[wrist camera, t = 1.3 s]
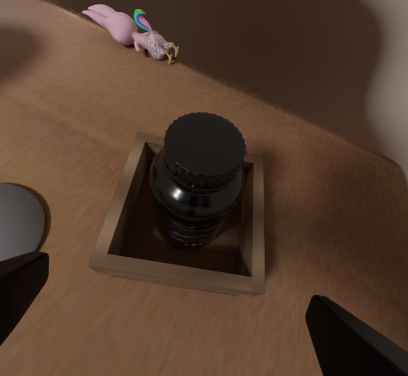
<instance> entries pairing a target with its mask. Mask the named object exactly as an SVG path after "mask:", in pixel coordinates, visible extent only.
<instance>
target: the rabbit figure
mask: <svg viewBox="0 0 408 376" xmlns="http://www.w3.org/2000/svg"><path fill="white" fill-rule="evenodd" d="M88 9H89V10H87V11H83V12H82V13H83V14H87V15H88V16H90V17H91V18H92V19H94V20H95V21H96V22H97V23H99V24H100V25H101V26H103V27H104V28H106V29H107V30H108V31H109V32H110V33H111V35H112V36H113V38H114V39H115V40H116V41H117V42H118V43H120V44H121V45H127V46H129V45H130V44H134V45H135V48H136V50H137V52H140V48H139V47H138V46H140V47H141V48H143V49H147V50H148V51H149V53H150V54H151V55H152V57H153V58H154V59H156V60H162V59H163V58H164V55H165V54H166V55H167V56H168V57H169V63H170V62H171V59H172V57H171V55H172V54H171V55H169V54H168V52H169V50H170V48H171V47H173V48H174V49H175V52H176V53H175V57H176V55H177V54H178V47H177V48H176V47H175V46H174V44H173V43H168V42H167V41H165V39H164V38H163V37H162V36H161V35H159V34H158V32H157V31H153V30H152V29H151V27H150V25H149V23H148V22H147V21H146V20H145V19H144V18H143V17H142V15H143V14H145V13H144V12H143V11H142V10H140V9H137V10H135V12H134V20H135V22H136V24H137V25H138V26H139V27H140V28H142V29H145V30H147V31H148V32H146V33H142V34H140V33H138V28H137V25H136V24H135V22H134V21H133V20H132V18H131V17H129V16H128V15H127V14H124V13H122V12H116V11H115V10H113V9H112V8H110V7H108V6H106V5H101V4H98V5H94V6H91V7H89V8H88ZM90 10H92V11H90ZM134 40H135V41H134ZM169 63H168V64H169ZM169 65H170V64H169Z"/></svg>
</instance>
